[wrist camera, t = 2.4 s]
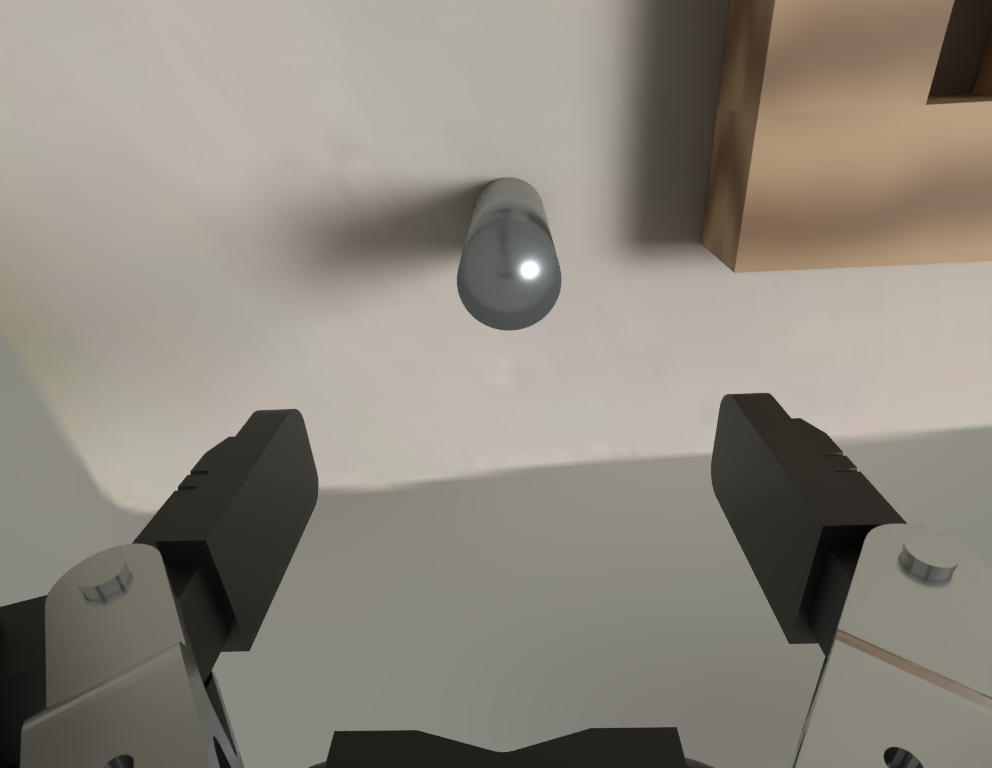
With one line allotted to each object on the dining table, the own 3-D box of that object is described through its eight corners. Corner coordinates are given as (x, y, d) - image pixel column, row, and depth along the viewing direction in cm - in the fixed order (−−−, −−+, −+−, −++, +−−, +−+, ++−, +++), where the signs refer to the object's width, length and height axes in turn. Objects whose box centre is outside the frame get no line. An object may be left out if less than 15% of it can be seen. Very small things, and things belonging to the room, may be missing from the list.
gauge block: (757, -236, 21) (822, -318, 17) (1266, -279, 20) (1474, -376, 16) (701, 243, 30) (734, 272, 25) (1057, 226, 29) (1156, 253, 25)
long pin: (471, 179, 28) (452, 232, 19) (543, 175, 28) (561, 226, 19) (476, 250, 30) (461, 332, 20) (544, 247, 30) (561, 328, 20)
